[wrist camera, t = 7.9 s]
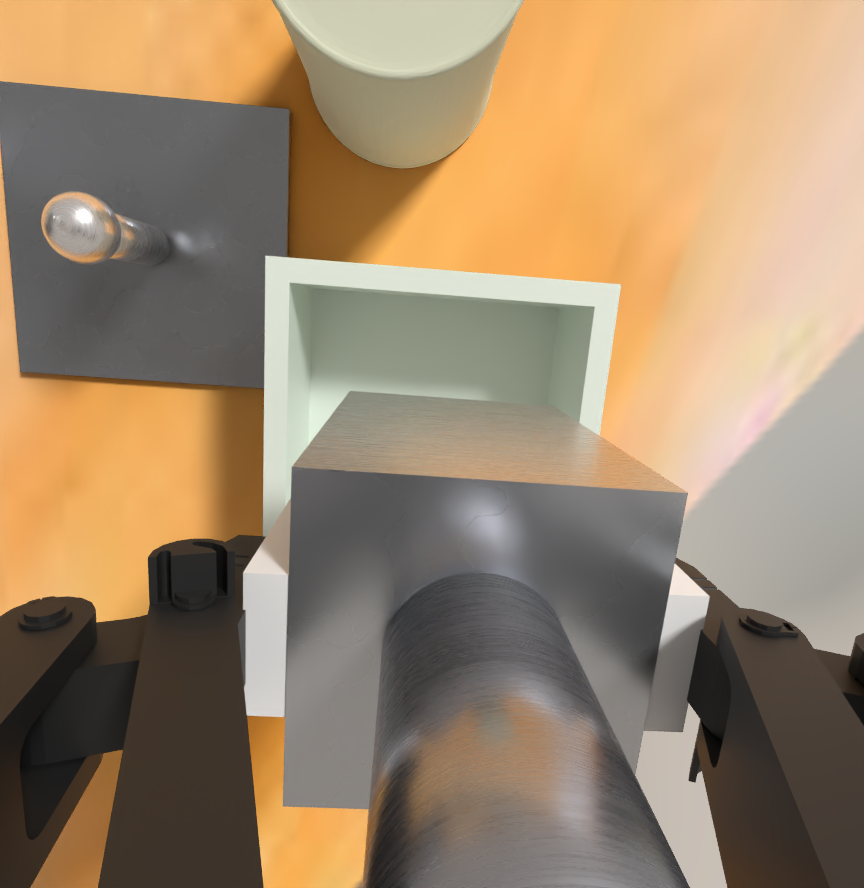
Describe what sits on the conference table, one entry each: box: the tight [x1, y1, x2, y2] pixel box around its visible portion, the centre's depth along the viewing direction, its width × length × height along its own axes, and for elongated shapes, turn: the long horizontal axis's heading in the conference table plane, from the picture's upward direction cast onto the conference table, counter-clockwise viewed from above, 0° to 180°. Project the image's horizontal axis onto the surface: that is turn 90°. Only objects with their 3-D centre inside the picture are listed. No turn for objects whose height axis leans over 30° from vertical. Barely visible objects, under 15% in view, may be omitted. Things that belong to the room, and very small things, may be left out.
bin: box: [263, 256, 621, 537], centre depth 29 cm, size 15×15×7 cm
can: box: [272, 0, 524, 168], centre depth 23 cm, size 9×9×12 cm
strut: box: [283, 391, 690, 888], centre depth 11 cm, size 6×6×16 cm
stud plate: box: [0, 81, 291, 388], centre depth 26 cm, size 14×14×8 cm
